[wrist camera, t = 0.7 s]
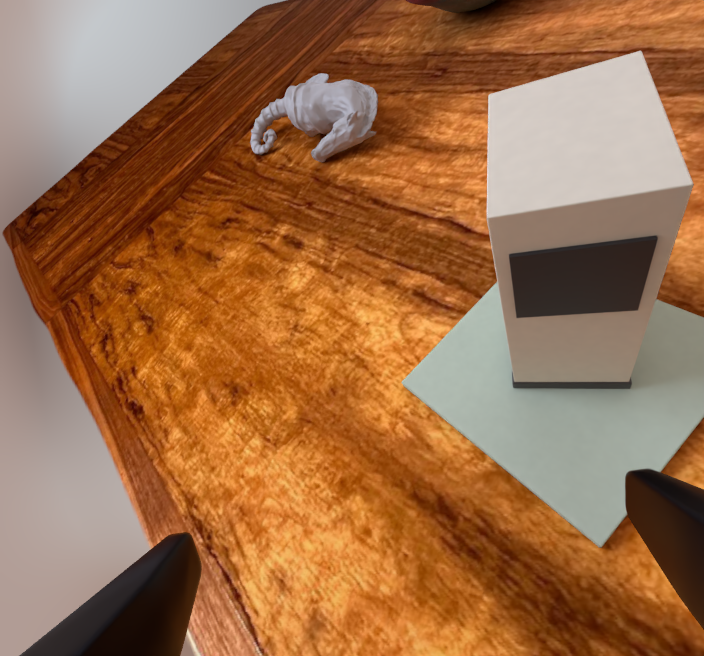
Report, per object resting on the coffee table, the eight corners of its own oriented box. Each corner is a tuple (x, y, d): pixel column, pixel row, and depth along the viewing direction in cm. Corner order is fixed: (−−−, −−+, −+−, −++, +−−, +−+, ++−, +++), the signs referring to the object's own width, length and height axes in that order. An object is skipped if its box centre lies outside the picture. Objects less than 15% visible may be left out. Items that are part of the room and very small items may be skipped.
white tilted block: (608, 273, 23) (644, 47, 14) (630, 390, 19) (700, 187, 10) (510, 282, 25) (485, 93, 16) (513, 389, 21) (483, 222, 12)
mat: (759, 346, 18) (763, 340, 18) (600, 548, 17) (601, 547, 16) (528, 254, 26) (527, 249, 26) (403, 385, 24) (400, 382, 24)
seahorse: (224, 172, 48) (355, 126, 36) (244, 89, 50) (375, 18, 38) (257, 193, 52) (385, 158, 40) (275, 116, 54) (402, 59, 42)
